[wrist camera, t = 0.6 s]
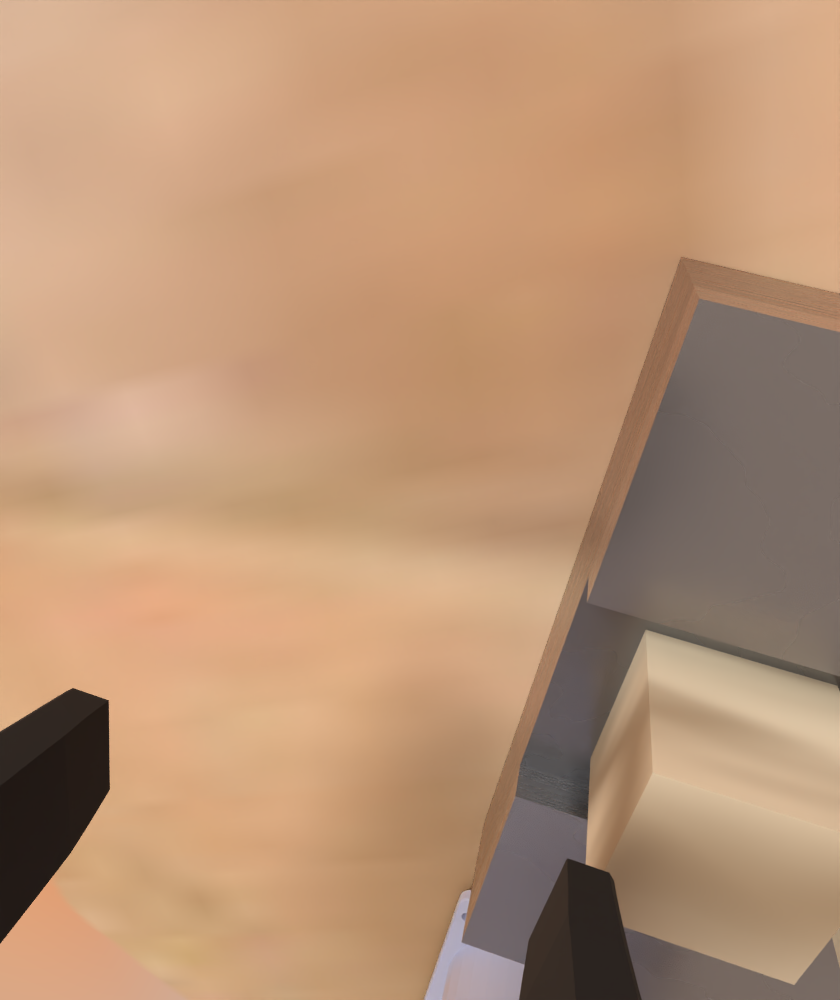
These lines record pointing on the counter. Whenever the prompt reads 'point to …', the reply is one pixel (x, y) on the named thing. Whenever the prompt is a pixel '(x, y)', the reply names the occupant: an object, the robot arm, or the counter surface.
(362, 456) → the counter surface
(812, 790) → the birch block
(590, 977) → the robot arm
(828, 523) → the slotted plate
